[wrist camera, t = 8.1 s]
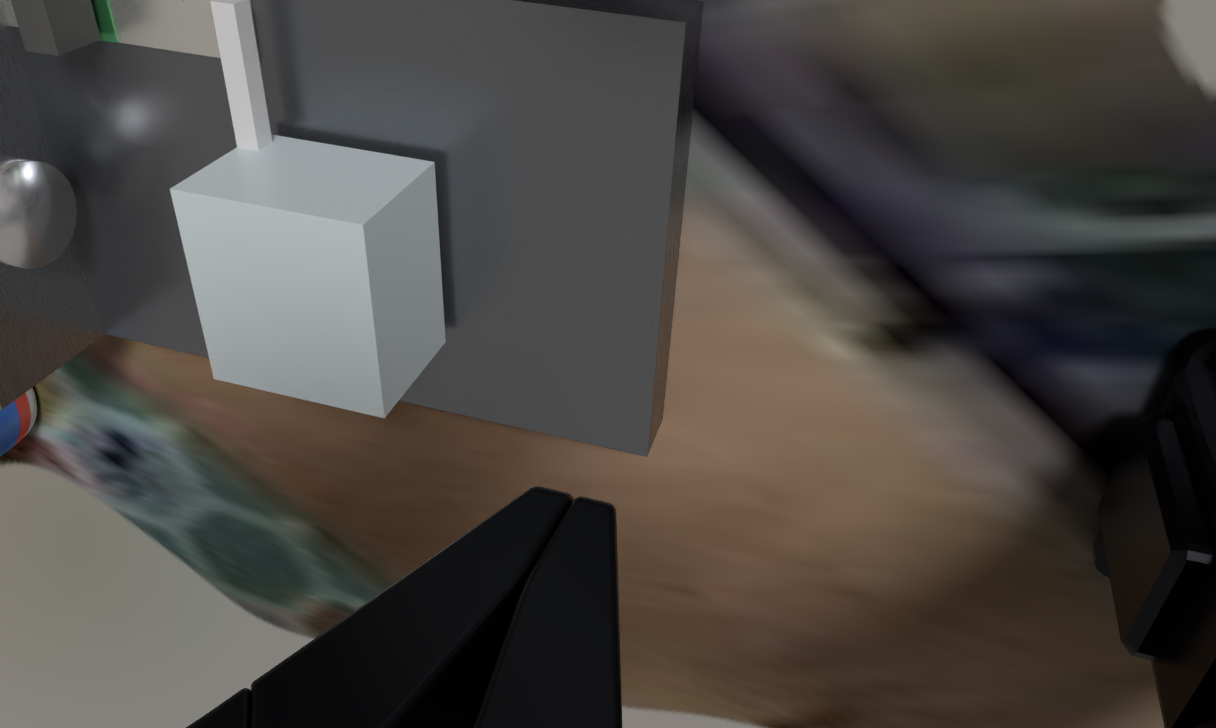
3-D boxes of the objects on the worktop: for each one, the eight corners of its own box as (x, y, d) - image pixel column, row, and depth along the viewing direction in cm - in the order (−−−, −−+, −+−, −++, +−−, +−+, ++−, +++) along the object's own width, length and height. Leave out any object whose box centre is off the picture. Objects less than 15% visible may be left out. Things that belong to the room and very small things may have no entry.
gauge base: (703, 1, 18) (632, 84, 14) (662, 419, 24) (604, 561, 20) (-38, -90, 22) (-259, -44, 18) (81, 293, 28) (-66, 392, 24)
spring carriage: (425, 15, 18) (344, 63, 16) (445, 341, 22) (384, 418, 20) (237, -10, 19) (133, 31, 16) (290, 309, 23) (213, 378, 21)
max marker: (80, -41, 20) (35, -28, 19) (100, 39, 20) (58, 56, 19) (47, -46, 20) (0, -33, 19) (68, 34, 21) (25, 50, 20)
